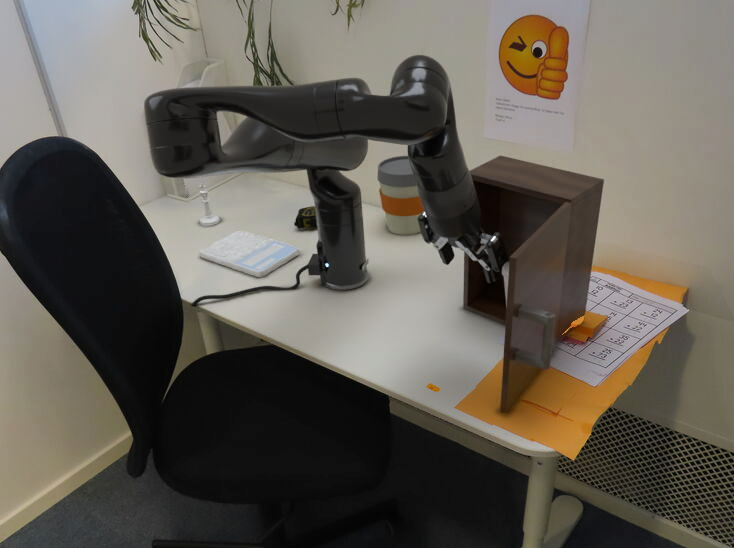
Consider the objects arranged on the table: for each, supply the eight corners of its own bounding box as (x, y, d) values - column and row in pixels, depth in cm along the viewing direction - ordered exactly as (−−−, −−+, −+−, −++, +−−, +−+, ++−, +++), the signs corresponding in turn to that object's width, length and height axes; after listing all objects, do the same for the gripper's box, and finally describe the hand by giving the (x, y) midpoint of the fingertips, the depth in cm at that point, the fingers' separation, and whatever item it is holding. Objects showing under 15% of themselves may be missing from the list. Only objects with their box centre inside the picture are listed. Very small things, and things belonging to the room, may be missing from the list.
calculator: (240, 235, 165) (238, 227, 164) (302, 254, 155) (301, 246, 154) (198, 257, 157) (196, 249, 156) (260, 279, 146) (259, 271, 145)
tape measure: (300, 219, 170) (298, 205, 168) (327, 219, 169) (325, 204, 167) (295, 231, 165) (293, 217, 163) (323, 231, 164) (321, 216, 162)
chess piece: (203, 217, 175) (195, 179, 169) (222, 217, 174) (214, 179, 169) (197, 225, 171) (188, 187, 165) (216, 225, 170) (208, 187, 165)
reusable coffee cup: (424, 240, 156) (423, 177, 148) (372, 235, 160) (368, 173, 151) (439, 217, 166) (439, 156, 157) (390, 213, 170) (387, 153, 161)
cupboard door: (584, 356, 117) (606, 209, 101) (537, 424, 104) (554, 267, 88) (549, 346, 120) (565, 201, 104) (500, 411, 107) (509, 256, 91)
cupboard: (554, 345, 120) (571, 199, 104) (463, 308, 132) (465, 172, 116) (584, 321, 125) (604, 179, 110) (493, 288, 137) (500, 155, 121)
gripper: (393, 201, 98) (422, 271, 111) (474, 231, 90) (495, 303, 103) (424, 165, 100) (449, 238, 113) (506, 192, 92) (522, 267, 105)
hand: (471, 269), depth 108 cm, fingers open, 8 cm apart
